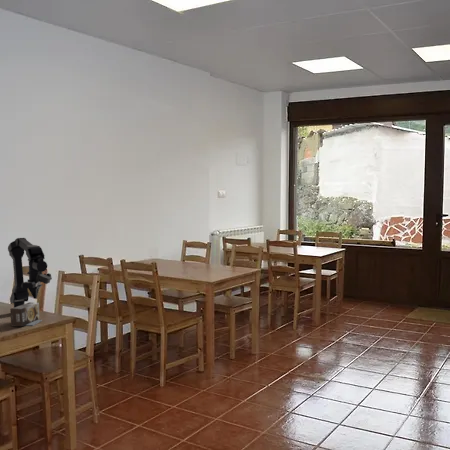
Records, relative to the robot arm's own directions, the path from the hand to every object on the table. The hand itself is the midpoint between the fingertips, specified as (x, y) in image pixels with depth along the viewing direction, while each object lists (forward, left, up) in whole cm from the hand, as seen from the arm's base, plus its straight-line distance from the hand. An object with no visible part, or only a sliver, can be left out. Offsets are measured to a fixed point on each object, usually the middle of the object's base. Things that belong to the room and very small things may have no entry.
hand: (35, 298), depth 290 cm
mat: (+8, 0, -12) cm, 14 cm away
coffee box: (+1, 0, -6) cm, 6 cm away
